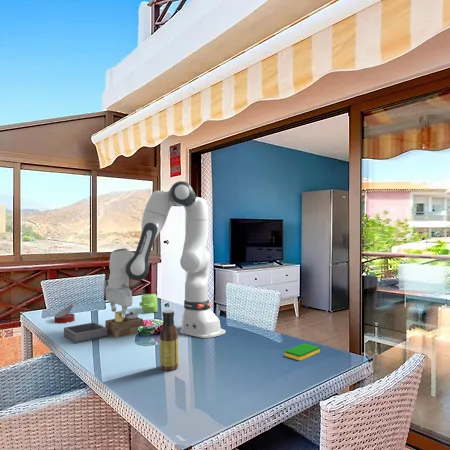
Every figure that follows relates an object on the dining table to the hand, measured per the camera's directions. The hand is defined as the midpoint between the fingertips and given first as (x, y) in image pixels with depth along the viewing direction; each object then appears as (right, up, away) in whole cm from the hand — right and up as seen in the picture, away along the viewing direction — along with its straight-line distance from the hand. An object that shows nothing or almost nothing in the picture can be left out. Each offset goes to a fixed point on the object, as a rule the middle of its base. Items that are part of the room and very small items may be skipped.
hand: (118, 313), depth 168 cm
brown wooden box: (+2, -10, +2) cm, 10 cm away
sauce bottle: (+30, -9, -42) cm, 53 cm away
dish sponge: (+80, -10, -28) cm, 85 cm away
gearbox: (+4, -11, +48) cm, 49 cm away
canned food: (-36, -10, +24) cm, 44 cm away
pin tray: (-14, -9, -5) cm, 17 cm away
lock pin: (+1, -10, 0) cm, 10 cm away
